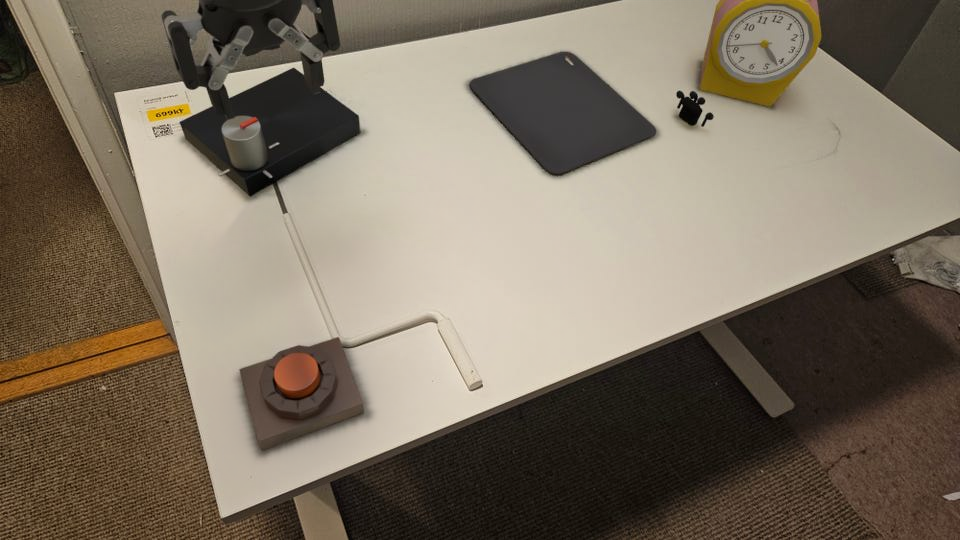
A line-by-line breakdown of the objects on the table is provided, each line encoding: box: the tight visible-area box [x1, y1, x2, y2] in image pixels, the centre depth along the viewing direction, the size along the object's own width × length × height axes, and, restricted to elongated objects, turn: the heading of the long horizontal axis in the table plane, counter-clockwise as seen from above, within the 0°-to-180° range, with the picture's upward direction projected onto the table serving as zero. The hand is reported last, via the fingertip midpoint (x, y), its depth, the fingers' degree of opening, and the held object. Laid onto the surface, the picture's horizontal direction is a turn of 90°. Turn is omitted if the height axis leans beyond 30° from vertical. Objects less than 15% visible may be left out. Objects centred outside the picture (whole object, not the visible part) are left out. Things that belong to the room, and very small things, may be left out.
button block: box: [239, 336, 365, 451], centre depth 60 cm, size 10×8×4 cm
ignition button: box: [274, 353, 320, 399], centre depth 58 cm, size 4×4×2 cm
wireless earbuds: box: [675, 90, 715, 128], centre depth 91 cm, size 7×2×5 cm, turn 38°
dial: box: [221, 116, 268, 171], centre depth 73 cm, size 4×4×5 cm
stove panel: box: [179, 67, 361, 197], centre depth 81 cm, size 20×16×3 cm
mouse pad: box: [469, 51, 657, 175], centre depth 92 cm, size 23×20×1 cm
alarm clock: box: [699, 0, 822, 108], centre depth 93 cm, size 15×8×18 cm, turn 74°
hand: (272, 101), depth 59 cm, fingers open, 8 cm apart
